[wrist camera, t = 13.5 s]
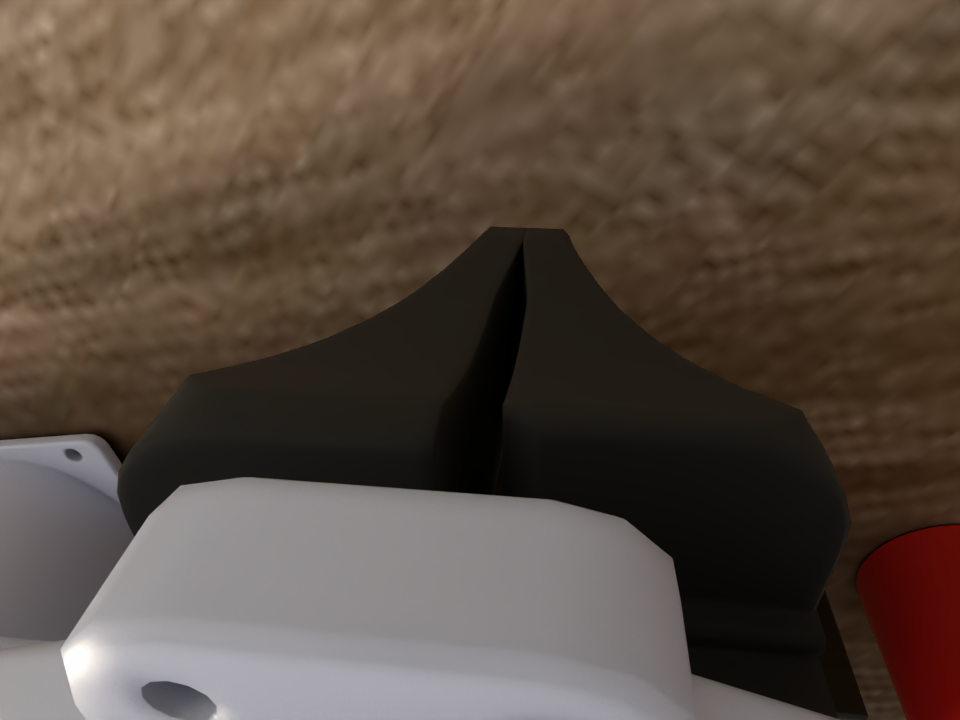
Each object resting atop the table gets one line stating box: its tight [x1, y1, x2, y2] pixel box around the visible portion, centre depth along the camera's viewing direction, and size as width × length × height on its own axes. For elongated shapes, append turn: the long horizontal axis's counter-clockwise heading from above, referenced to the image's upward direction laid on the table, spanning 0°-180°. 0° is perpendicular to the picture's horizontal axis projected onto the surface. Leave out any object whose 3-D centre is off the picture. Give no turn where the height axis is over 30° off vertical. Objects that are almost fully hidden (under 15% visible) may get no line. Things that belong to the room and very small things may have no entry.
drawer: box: [495, 456, 868, 720], centre depth 17 cm, size 18×12×6 cm
